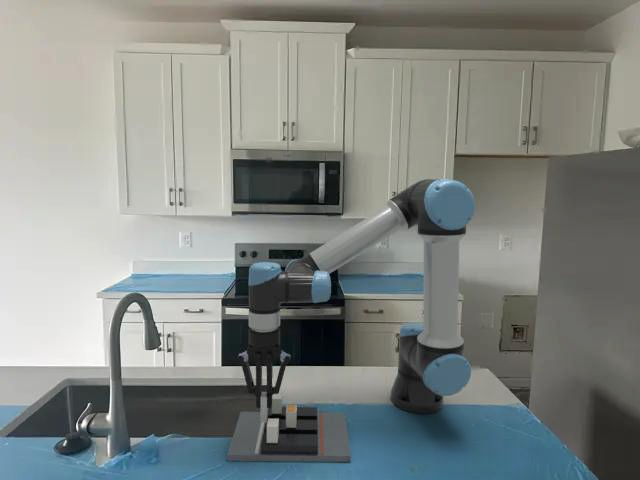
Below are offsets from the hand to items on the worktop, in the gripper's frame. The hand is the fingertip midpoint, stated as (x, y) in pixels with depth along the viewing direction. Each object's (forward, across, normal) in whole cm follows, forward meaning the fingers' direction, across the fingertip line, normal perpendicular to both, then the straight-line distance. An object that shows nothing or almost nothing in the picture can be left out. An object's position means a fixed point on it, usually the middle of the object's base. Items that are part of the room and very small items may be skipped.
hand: (264, 419), depth 109 cm
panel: (+5, -7, 0) cm, 8 cm away
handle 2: (+1, -3, +7) cm, 7 cm away
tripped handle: (+1, -7, 0) cm, 7 cm away
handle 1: (+1, -3, -6) cm, 7 cm away
